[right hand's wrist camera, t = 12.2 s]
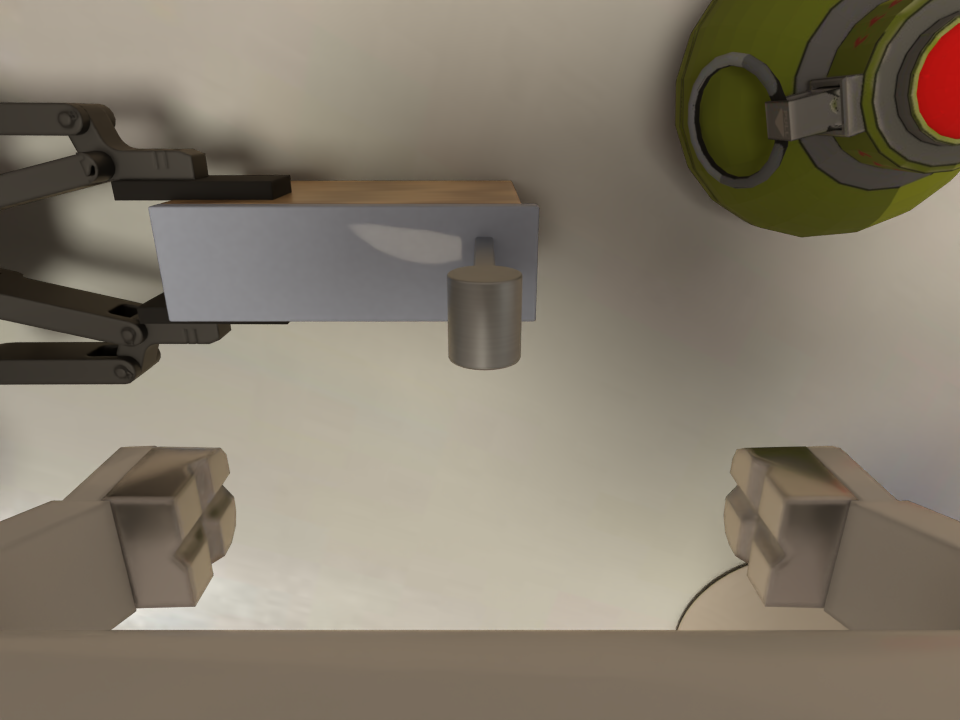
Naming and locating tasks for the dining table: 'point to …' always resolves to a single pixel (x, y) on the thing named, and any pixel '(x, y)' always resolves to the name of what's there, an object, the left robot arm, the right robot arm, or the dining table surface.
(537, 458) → the dining table surface
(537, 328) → the dining table surface
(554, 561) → the dining table surface
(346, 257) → the lid
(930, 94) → the grenade
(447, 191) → the brown rectangular box
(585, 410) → the dining table surface
